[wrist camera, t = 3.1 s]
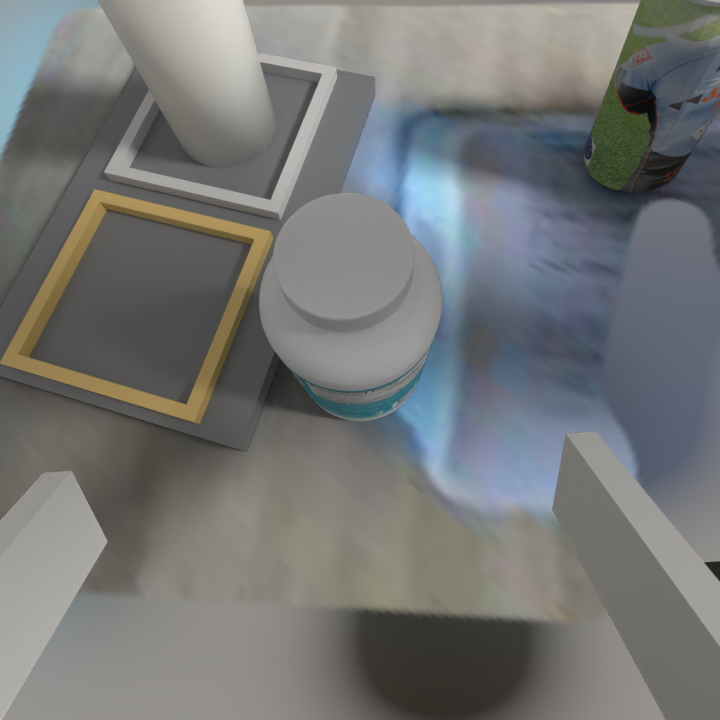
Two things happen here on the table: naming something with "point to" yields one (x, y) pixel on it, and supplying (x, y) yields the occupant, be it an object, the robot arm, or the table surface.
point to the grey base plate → (176, 259)
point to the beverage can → (658, 96)
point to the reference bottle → (200, 74)
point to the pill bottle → (351, 305)
